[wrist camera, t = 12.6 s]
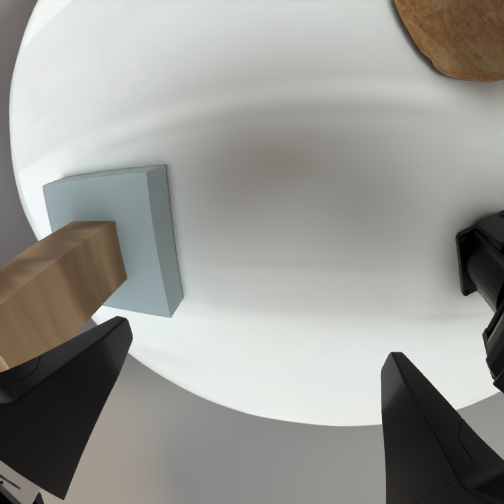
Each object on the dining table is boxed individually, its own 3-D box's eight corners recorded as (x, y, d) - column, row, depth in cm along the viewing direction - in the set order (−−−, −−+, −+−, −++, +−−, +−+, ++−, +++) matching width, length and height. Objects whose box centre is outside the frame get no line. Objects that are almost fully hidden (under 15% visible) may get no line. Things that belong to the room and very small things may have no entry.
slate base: (165, 164, 20) (146, 171, 17) (183, 297, 25) (170, 317, 22) (63, 177, 21) (42, 185, 19) (88, 284, 27) (73, 298, 24)
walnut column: (114, 221, 19) (-19, 322, 7) (127, 278, 21) (27, 392, 10) (72, 221, 20) (-44, 302, 8) (86, 272, 22) (-9, 364, 10)
